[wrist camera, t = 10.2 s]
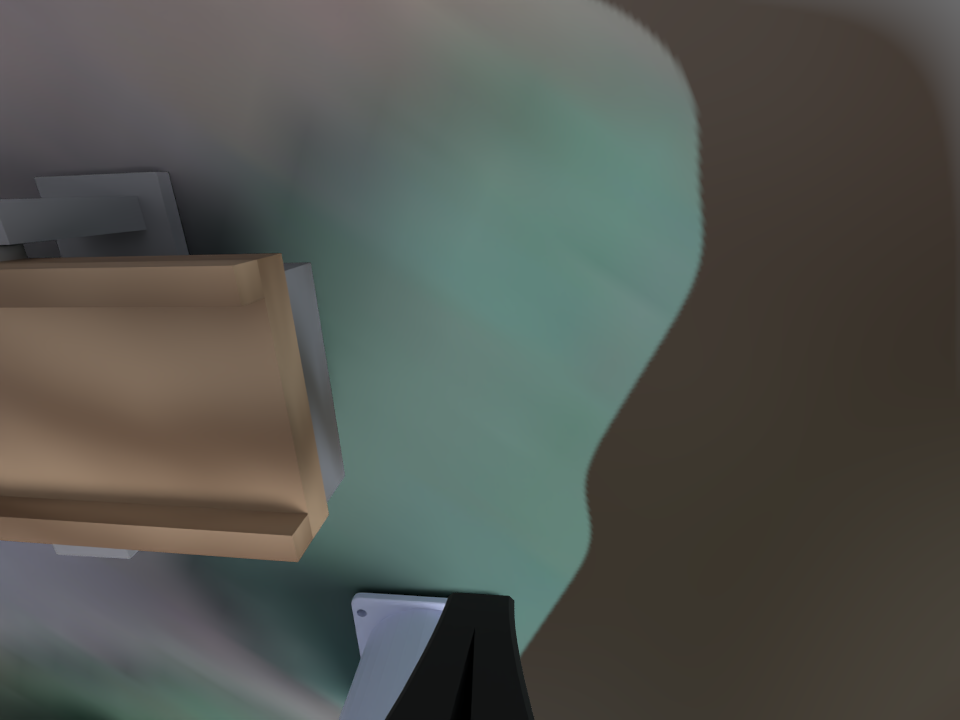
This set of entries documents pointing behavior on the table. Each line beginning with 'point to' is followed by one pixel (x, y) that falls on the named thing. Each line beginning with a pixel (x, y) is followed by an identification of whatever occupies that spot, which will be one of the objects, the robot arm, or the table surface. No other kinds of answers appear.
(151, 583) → the table surface
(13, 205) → the stand
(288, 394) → the tan wooden tray
